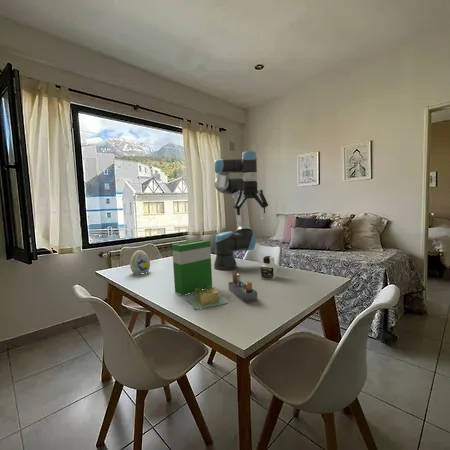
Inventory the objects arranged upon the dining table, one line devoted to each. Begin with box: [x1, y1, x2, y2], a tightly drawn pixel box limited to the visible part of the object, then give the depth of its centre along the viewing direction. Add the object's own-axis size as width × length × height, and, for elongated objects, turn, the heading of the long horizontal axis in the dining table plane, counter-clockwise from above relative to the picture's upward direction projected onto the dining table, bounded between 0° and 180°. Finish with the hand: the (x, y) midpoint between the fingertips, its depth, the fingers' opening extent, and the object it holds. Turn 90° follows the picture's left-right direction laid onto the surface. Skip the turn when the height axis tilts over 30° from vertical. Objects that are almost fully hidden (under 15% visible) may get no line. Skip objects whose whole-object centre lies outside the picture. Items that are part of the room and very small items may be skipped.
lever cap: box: [194, 285, 220, 306], centre depth 112 cm, size 10×8×5 cm
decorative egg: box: [129, 249, 151, 275], centre depth 163 cm, size 12×12×15 cm
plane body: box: [228, 271, 258, 304], centre depth 117 cm, size 18×6×9 cm, turn 22°
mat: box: [187, 295, 228, 310], centre depth 113 cm, size 14×14×1 cm
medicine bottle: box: [260, 255, 278, 281], centre depth 142 cm, size 7×7×12 cm
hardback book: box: [171, 239, 213, 296], centre depth 128 cm, size 18×7×24 cm, turn 130°
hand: (251, 220), depth 138 cm, fingers open, 13 cm apart
